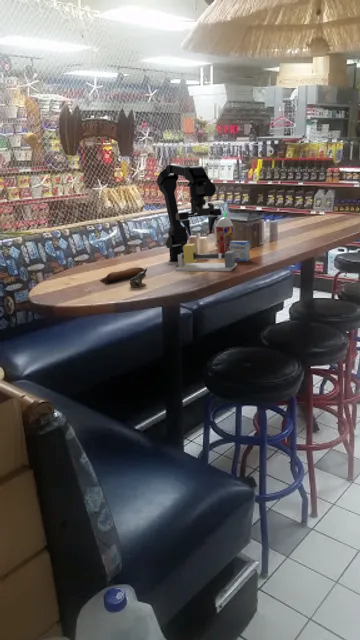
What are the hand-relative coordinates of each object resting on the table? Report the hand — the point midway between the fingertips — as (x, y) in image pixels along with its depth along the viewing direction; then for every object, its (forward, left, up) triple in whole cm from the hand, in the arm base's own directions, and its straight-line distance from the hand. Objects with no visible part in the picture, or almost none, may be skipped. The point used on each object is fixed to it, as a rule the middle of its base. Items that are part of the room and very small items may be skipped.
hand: (200, 234), depth 219 cm
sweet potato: (-27, -24, -15) cm, 39 cm away
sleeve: (-4, -2, -11) cm, 12 cm away
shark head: (-13, -35, -14) cm, 40 cm away
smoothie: (+3, +30, -14) cm, 33 cm away
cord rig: (+3, -2, -14) cm, 14 cm away
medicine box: (+14, +14, -14) cm, 24 cm away
